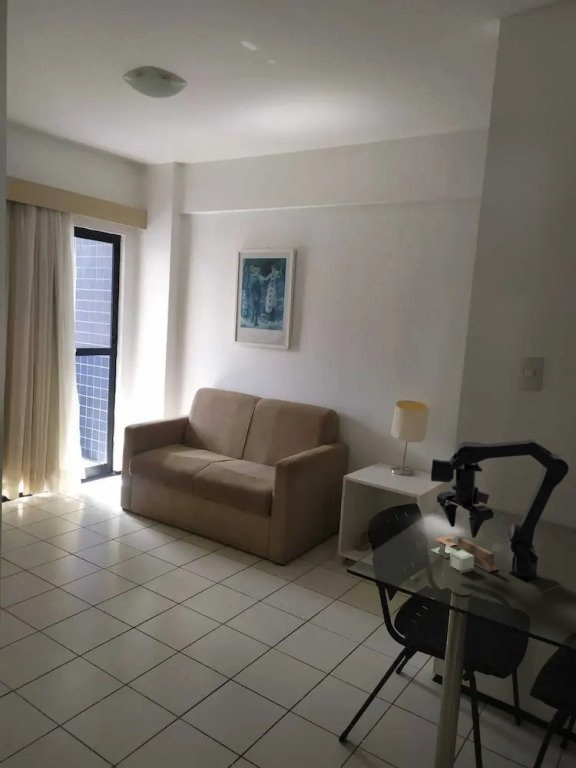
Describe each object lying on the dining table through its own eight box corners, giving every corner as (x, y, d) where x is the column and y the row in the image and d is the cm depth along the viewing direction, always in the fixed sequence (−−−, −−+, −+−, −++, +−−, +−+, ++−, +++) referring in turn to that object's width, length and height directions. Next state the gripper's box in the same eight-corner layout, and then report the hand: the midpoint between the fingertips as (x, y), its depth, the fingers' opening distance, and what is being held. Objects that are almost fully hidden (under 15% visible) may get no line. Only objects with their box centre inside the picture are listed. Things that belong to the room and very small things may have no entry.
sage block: (473, 570, 179) (474, 555, 178) (461, 574, 176) (461, 559, 176) (461, 564, 183) (462, 549, 182) (449, 567, 181) (450, 552, 180)
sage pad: (462, 554, 190) (462, 553, 190) (445, 559, 187) (445, 557, 187) (447, 546, 196) (447, 545, 196) (431, 550, 193) (431, 549, 193)
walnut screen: (498, 570, 179) (499, 552, 178) (488, 573, 177) (489, 554, 176) (465, 552, 191) (466, 535, 190) (456, 555, 189) (457, 537, 188)
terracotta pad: (464, 543, 198) (464, 542, 198) (449, 547, 195) (449, 546, 195) (450, 535, 204) (450, 534, 204) (435, 539, 201) (435, 538, 201)
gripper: (508, 488, 171) (505, 538, 174) (463, 471, 188) (461, 517, 190) (480, 494, 167) (477, 545, 169) (436, 476, 183) (435, 523, 185)
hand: (463, 531), depth 179 cm, fingers open, 9 cm apart
